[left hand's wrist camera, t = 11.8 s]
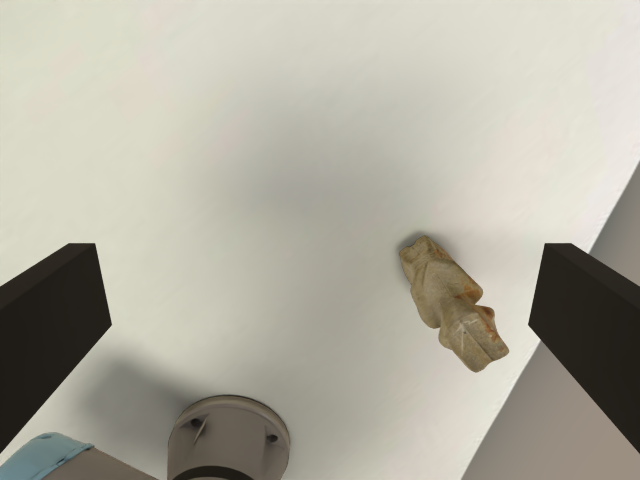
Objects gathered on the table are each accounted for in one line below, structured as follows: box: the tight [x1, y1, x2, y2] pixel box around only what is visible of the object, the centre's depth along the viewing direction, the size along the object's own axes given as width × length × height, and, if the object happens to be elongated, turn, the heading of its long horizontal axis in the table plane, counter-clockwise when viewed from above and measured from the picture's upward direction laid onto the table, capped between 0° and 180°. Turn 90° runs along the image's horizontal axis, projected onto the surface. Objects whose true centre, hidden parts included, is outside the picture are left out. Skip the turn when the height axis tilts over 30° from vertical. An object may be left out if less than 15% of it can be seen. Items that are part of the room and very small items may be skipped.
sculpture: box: [399, 236, 509, 372], centre depth 38 cm, size 6×7×15 cm
